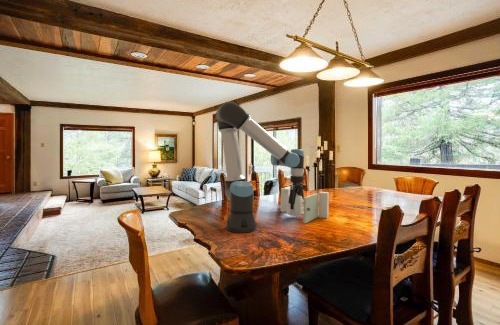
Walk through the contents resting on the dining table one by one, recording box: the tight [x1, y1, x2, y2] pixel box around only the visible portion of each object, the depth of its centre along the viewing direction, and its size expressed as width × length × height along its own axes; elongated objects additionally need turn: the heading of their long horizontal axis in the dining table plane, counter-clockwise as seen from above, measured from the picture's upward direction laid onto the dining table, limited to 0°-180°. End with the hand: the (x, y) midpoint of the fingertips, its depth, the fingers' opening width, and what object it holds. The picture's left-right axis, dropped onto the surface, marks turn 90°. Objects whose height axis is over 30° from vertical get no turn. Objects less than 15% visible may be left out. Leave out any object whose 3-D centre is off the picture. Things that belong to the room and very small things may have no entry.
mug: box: [286, 195, 304, 217], centre depth 157 cm, size 9×12×11 cm
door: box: [302, 190, 320, 224], centre depth 151 cm, size 19×3×16 cm, turn 144°
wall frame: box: [280, 187, 330, 219], centre depth 166 cm, size 30×3×15 cm, turn 58°
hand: (296, 212), depth 157 cm, fingers closed on mug, 10 cm apart
